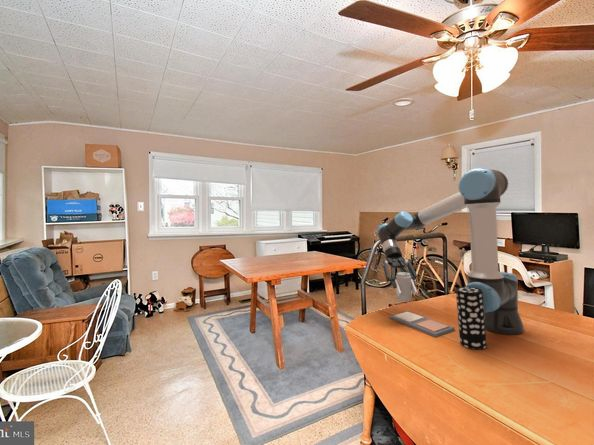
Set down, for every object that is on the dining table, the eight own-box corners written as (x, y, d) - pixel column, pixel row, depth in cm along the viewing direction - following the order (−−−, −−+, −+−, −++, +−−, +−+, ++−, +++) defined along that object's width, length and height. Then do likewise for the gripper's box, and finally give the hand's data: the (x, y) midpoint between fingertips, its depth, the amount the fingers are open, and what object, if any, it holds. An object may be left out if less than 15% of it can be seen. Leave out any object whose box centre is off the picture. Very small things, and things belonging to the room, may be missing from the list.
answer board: (454, 330, 117) (454, 326, 117) (435, 337, 111) (435, 333, 111) (407, 313, 138) (407, 310, 138) (389, 318, 132) (389, 315, 132)
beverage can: (413, 302, 123) (412, 274, 122) (397, 302, 124) (397, 275, 124) (410, 297, 129) (409, 271, 129) (395, 297, 130) (394, 271, 130)
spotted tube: (478, 351, 99) (473, 294, 98) (455, 343, 106) (450, 290, 106) (491, 344, 102) (487, 289, 102) (468, 336, 110) (464, 285, 109)
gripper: (409, 254, 142) (426, 296, 126) (371, 256, 141) (383, 299, 125) (413, 245, 136) (432, 288, 120) (374, 247, 135) (387, 290, 120)
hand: (407, 293), depth 123 cm, fingers closed on beverage can, 6 cm apart
